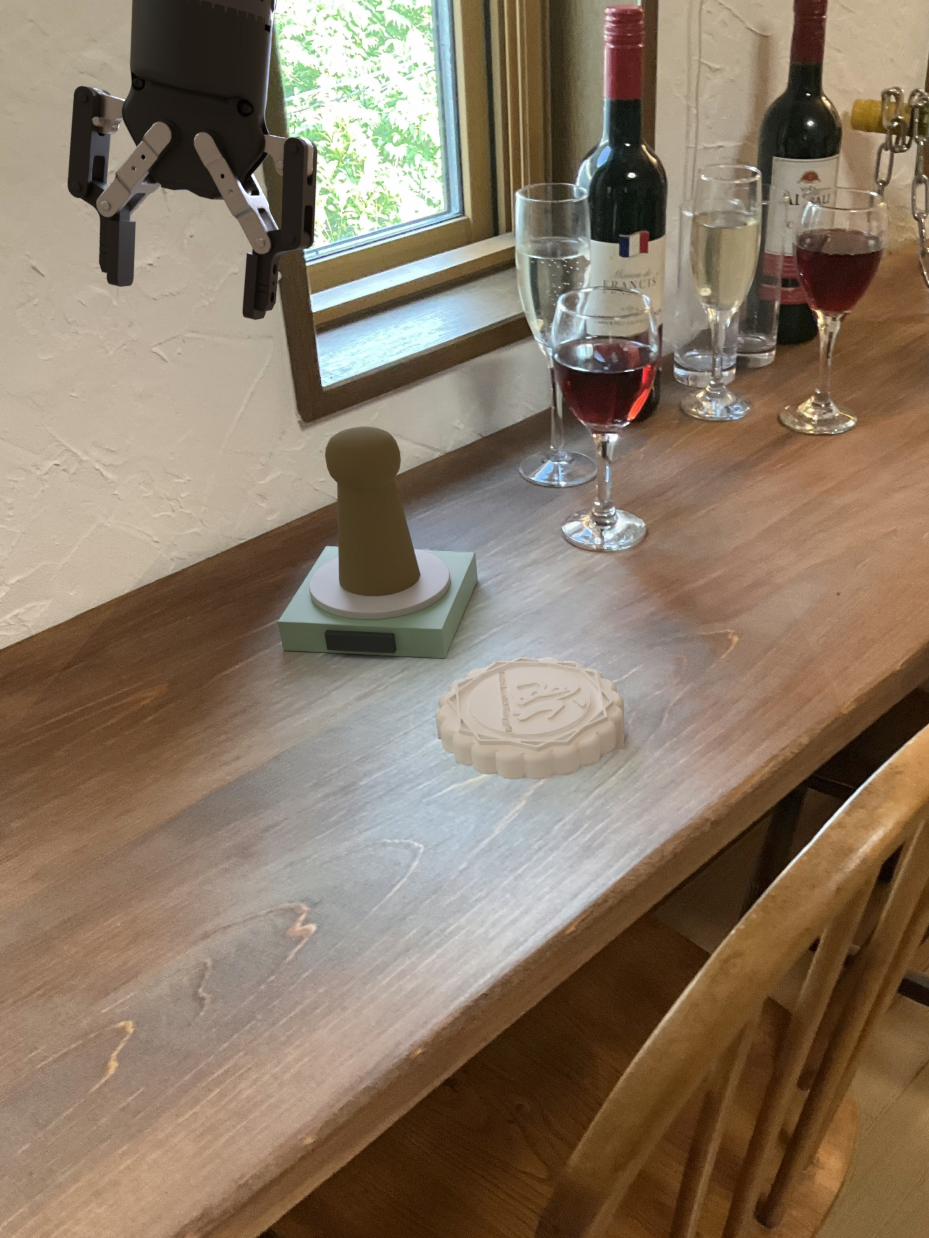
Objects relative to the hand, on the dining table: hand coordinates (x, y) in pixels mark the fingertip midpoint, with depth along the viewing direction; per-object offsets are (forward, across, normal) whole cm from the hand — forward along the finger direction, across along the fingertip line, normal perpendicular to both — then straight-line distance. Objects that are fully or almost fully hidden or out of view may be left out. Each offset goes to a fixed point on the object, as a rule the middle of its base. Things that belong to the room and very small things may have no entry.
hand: (187, 301), depth 78 cm
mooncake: (+21, +27, -6) cm, 35 cm away
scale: (+20, +12, +10) cm, 26 cm away
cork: (+18, +12, +10) cm, 23 cm away
